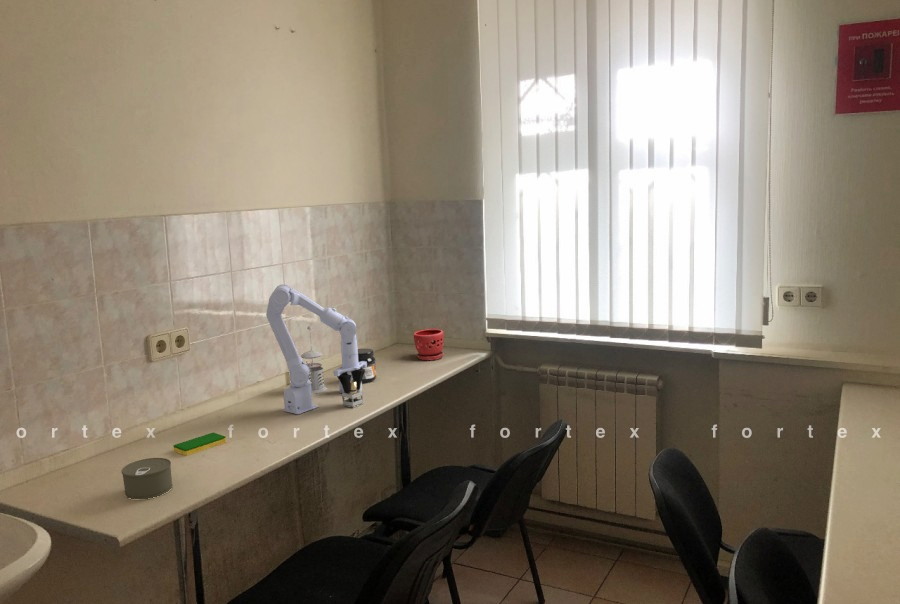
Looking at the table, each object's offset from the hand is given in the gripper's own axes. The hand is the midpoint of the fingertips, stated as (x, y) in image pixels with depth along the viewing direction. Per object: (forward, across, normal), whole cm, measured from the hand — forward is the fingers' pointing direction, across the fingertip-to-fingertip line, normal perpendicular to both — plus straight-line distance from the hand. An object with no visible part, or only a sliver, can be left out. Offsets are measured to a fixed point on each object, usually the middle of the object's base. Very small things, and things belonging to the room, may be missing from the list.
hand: (352, 391), depth 259 cm
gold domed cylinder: (+4, 0, 0) cm, 4 cm away
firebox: (+5, 0, 0) cm, 5 cm away
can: (+5, -82, -6) cm, 82 cm away
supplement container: (+5, +26, +20) cm, 33 cm away
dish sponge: (+6, -54, +12) cm, 56 cm away
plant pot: (+5, +66, +18) cm, 69 cm away
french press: (+5, +6, +26) cm, 28 cm away
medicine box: (+5, +12, +12) cm, 18 cm away
